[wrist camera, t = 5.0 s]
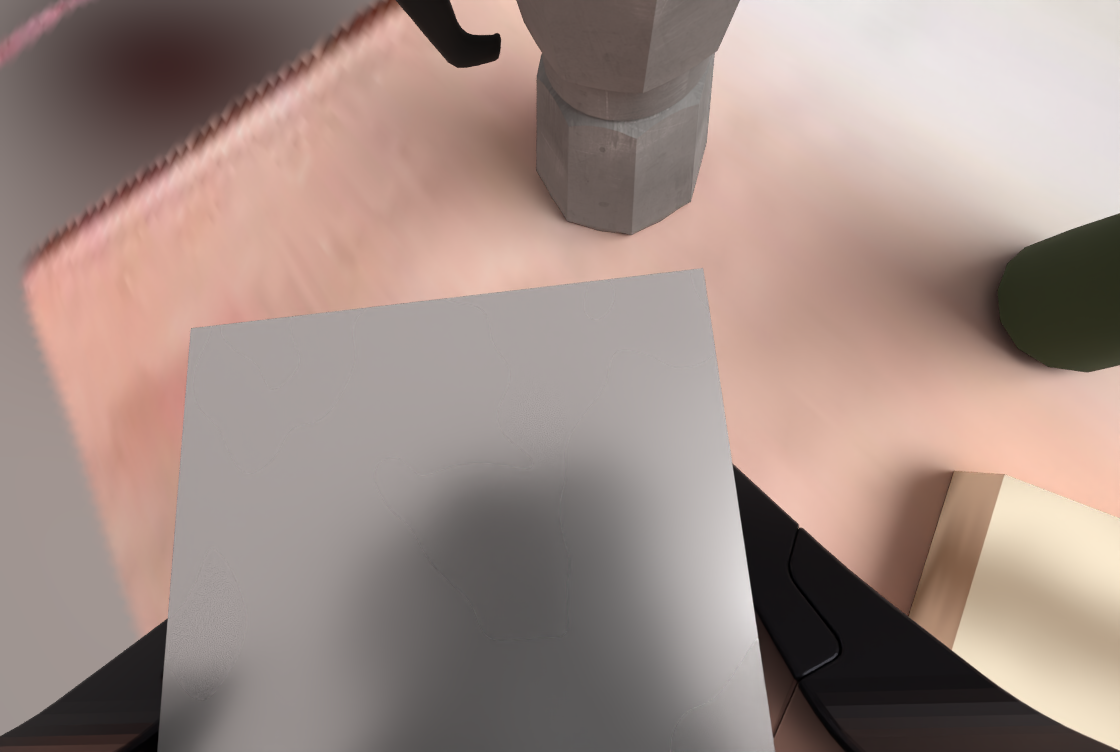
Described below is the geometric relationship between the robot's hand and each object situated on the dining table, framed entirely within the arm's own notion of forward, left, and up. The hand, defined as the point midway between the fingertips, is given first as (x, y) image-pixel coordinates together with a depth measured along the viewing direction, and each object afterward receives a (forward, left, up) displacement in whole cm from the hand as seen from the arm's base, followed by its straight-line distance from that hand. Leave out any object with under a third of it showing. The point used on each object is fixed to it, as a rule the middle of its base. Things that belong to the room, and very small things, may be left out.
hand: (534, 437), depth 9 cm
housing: (-1, -1, -7) cm, 7 cm away
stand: (+1, -21, -13) cm, 25 cm away
